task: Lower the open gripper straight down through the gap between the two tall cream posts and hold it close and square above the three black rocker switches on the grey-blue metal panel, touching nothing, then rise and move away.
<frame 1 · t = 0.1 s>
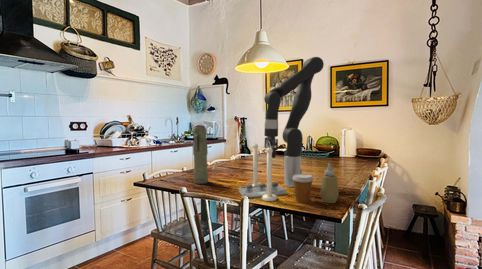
hand: (270, 156, 154), 17 cm above the table, tool pointing down, fingers open, 8 cm apart
squeeze bottle: (329, 202, 128), on the table
paddle 1: (249, 186, 142), point 4 cm above the table, hinge at 12.0°
paddle 2: (274, 184, 145), point 4 cm above the table, hinge at 12.0°
middle paddle: (262, 185, 143), point 4 cm above the table, hinge at 12.0°
thermos: (200, 182, 169), on the table
near post: (269, 199, 133), on the table
breaker panel: (262, 193, 144), on the table
disposable coffee cup: (302, 201, 130), on the table
far post: (255, 188, 154), on the table
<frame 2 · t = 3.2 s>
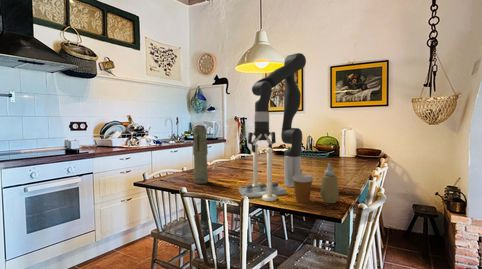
hand: (261, 152, 142), 22 cm above the table, tool pointing down, fingers open, 8 cm apart
nothing on the table moved.
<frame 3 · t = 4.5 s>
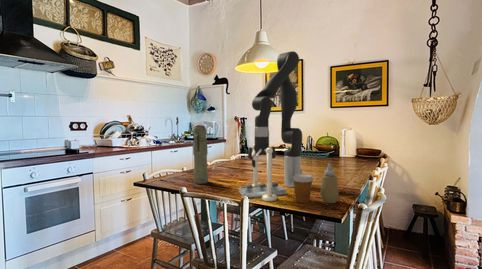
hand: (261, 166, 143), 14 cm above the table, tool pointing down, fingers open, 8 cm apart
nothing on the table moved.
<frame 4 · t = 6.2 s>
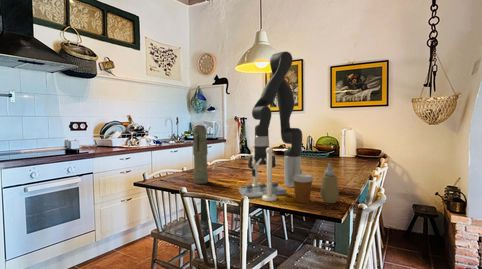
hand: (261, 175, 143), 9 cm above the table, tool pointing down, fingers open, 8 cm apart
nothing on the table moved.
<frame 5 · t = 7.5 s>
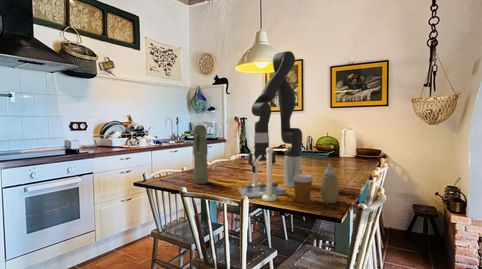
hand: (262, 172, 143), 11 cm above the table, tool pointing down, fingers open, 8 cm apart
nothing on the table moved.
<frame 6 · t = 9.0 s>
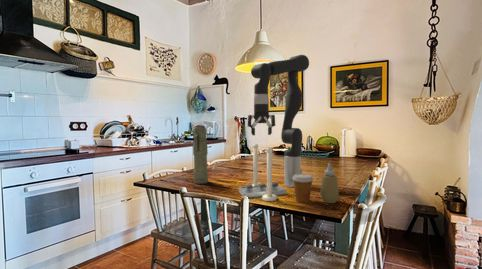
hand: (261, 135, 142), 30 cm above the table, tool pointing down, fingers open, 8 cm apart
nothing on the table moved.
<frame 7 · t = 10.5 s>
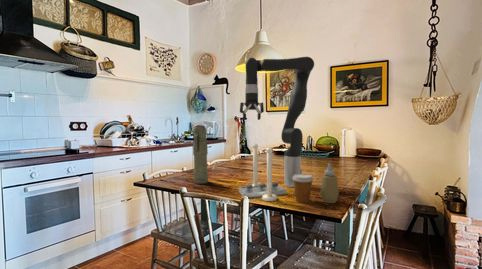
hand: (251, 120, 164), 38 cm above the table, tool pointing down, fingers open, 8 cm apart
nothing on the table moved.
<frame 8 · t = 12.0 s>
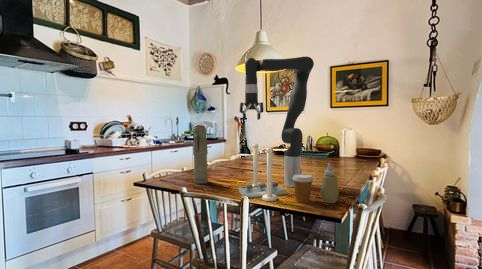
hand: (251, 119, 165), 38 cm above the table, tool pointing down, fingers open, 8 cm apart
nothing on the table moved.
at the end: far post moved 0.0 cm from its start; near post moved 0.0 cm from its start; middle paddle at +12° (first picture: +12°) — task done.
